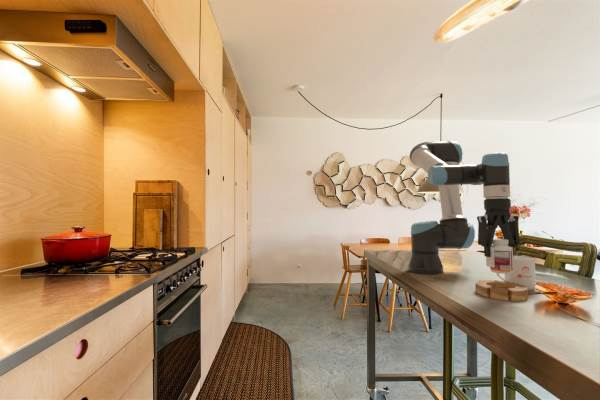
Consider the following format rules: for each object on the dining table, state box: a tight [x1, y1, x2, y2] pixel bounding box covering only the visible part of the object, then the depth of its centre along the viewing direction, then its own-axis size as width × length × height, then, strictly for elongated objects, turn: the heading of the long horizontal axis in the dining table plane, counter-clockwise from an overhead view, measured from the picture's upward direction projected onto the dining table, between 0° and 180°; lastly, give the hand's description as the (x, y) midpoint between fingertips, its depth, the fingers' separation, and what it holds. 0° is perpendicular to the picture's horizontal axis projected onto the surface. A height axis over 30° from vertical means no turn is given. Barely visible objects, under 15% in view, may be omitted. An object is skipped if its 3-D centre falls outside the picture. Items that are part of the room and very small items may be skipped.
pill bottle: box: [489, 238, 513, 275], centre depth 95 cm, size 6×6×11 cm
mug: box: [496, 255, 537, 292], centre depth 103 cm, size 12×9×11 cm
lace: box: [527, 290, 541, 295], centre depth 96 cm, size 1×12×1 cm, turn 96°
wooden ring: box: [474, 279, 528, 302], centre depth 95 cm, size 14×14×3 cm
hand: (499, 266), depth 95 cm, fingers closed on pill bottle, 6 cm apart
